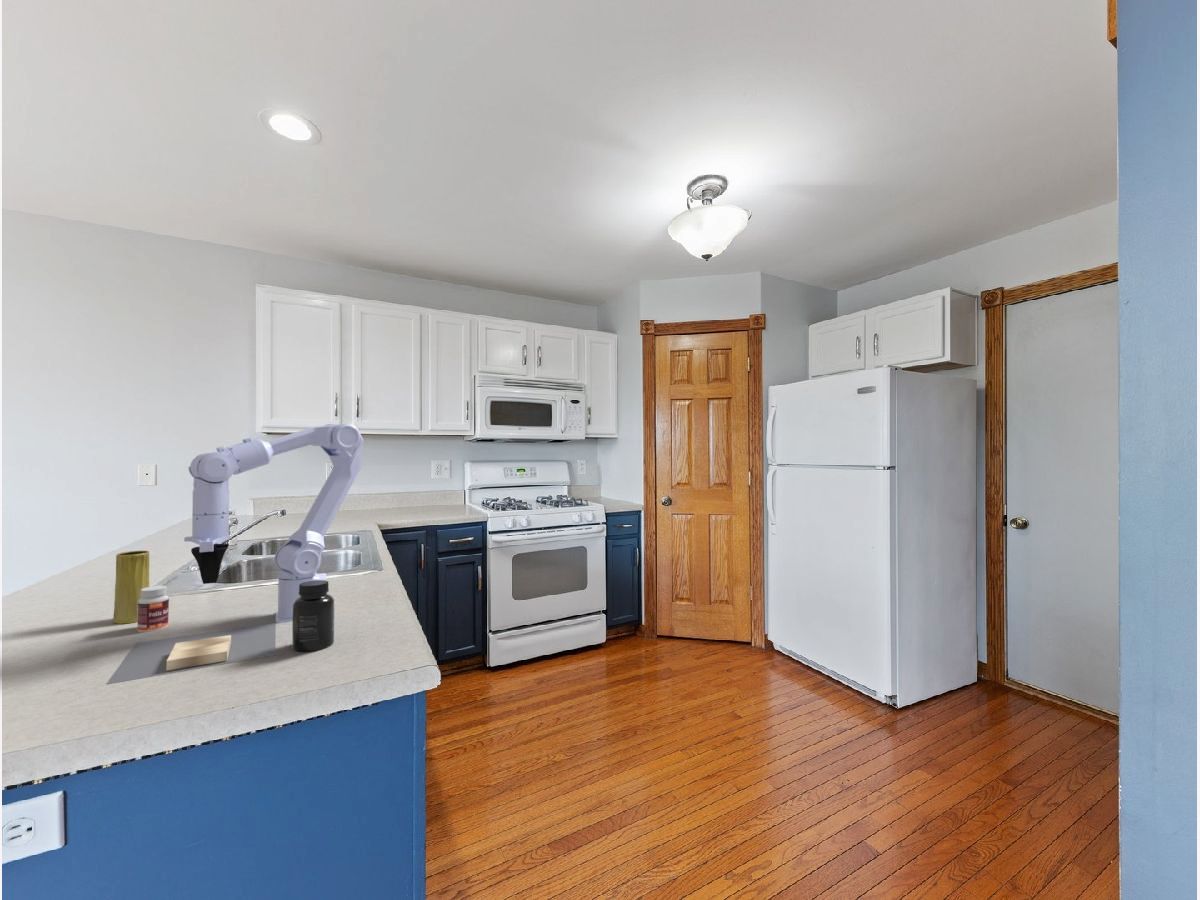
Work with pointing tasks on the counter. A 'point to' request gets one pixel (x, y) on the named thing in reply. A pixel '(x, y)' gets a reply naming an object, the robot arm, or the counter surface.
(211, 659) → the tile
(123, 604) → the vase
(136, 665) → the mat
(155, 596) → the pill bottle
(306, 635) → the supplement bottle
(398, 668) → the counter surface
